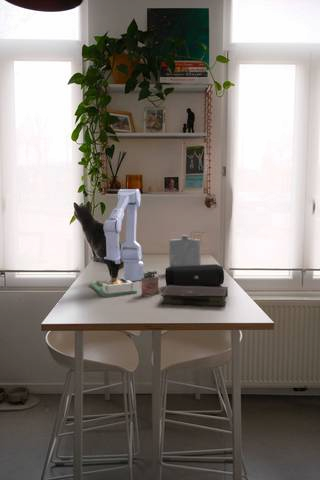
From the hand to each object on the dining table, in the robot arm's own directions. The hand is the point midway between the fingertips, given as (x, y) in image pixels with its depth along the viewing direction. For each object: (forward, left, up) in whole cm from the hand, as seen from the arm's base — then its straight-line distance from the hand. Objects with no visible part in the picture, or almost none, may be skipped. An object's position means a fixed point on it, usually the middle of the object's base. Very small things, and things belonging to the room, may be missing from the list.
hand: (113, 277), depth 206 cm
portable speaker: (-35, +9, -6) cm, 37 cm away
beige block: (0, 0, -5) cm, 5 cm away
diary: (-25, +30, -7) cm, 40 cm away
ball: (0, +5, -3) cm, 6 cm away
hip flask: (-44, -20, -6) cm, 49 cm away
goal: (0, +5, -6) cm, 8 cm away
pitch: (0, -3, -6) cm, 6 cm away
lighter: (-12, +13, -6) cm, 19 cm away
